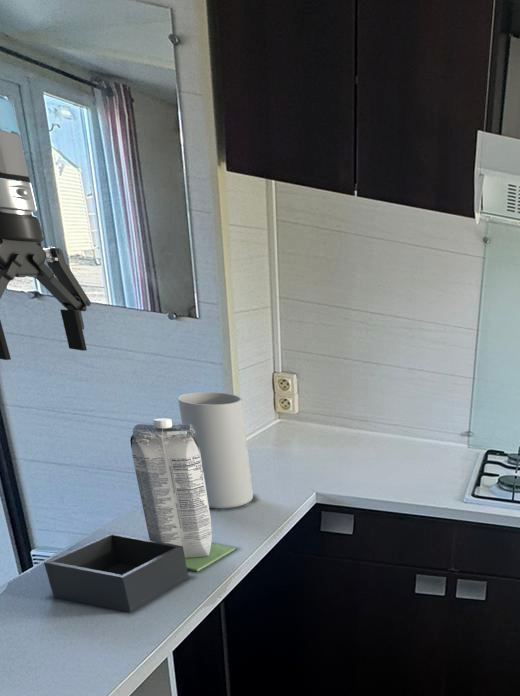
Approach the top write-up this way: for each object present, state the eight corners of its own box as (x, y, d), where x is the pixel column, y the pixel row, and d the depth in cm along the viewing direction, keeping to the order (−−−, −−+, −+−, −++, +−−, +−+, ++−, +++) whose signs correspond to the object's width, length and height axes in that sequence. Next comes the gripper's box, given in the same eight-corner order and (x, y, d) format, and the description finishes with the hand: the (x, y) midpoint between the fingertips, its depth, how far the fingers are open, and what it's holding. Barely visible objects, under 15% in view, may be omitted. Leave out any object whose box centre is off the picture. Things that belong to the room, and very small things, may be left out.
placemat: (131, 559, 123) (131, 556, 123) (174, 538, 133) (173, 536, 133) (197, 571, 122) (197, 569, 122) (235, 549, 132) (234, 547, 132)
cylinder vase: (226, 487, 161) (213, 389, 150) (265, 498, 158) (254, 399, 147) (182, 501, 150) (164, 397, 139) (222, 513, 147) (207, 407, 136)
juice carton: (215, 558, 127) (194, 427, 115) (152, 564, 122) (124, 428, 110) (214, 540, 134) (195, 415, 122) (155, 545, 128) (129, 415, 117)
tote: (53, 597, 109) (43, 562, 106) (119, 564, 121) (111, 532, 118) (130, 612, 108) (122, 577, 105) (188, 578, 120) (183, 546, 117)
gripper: (-62, 205, 84) (-15, 366, 94) (98, 220, 107) (123, 349, 116) (-111, 198, 85) (-60, 359, 94) (59, 214, 107) (87, 343, 117)
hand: (41, 353), depth 105 cm, fingers open, 13 cm apart
